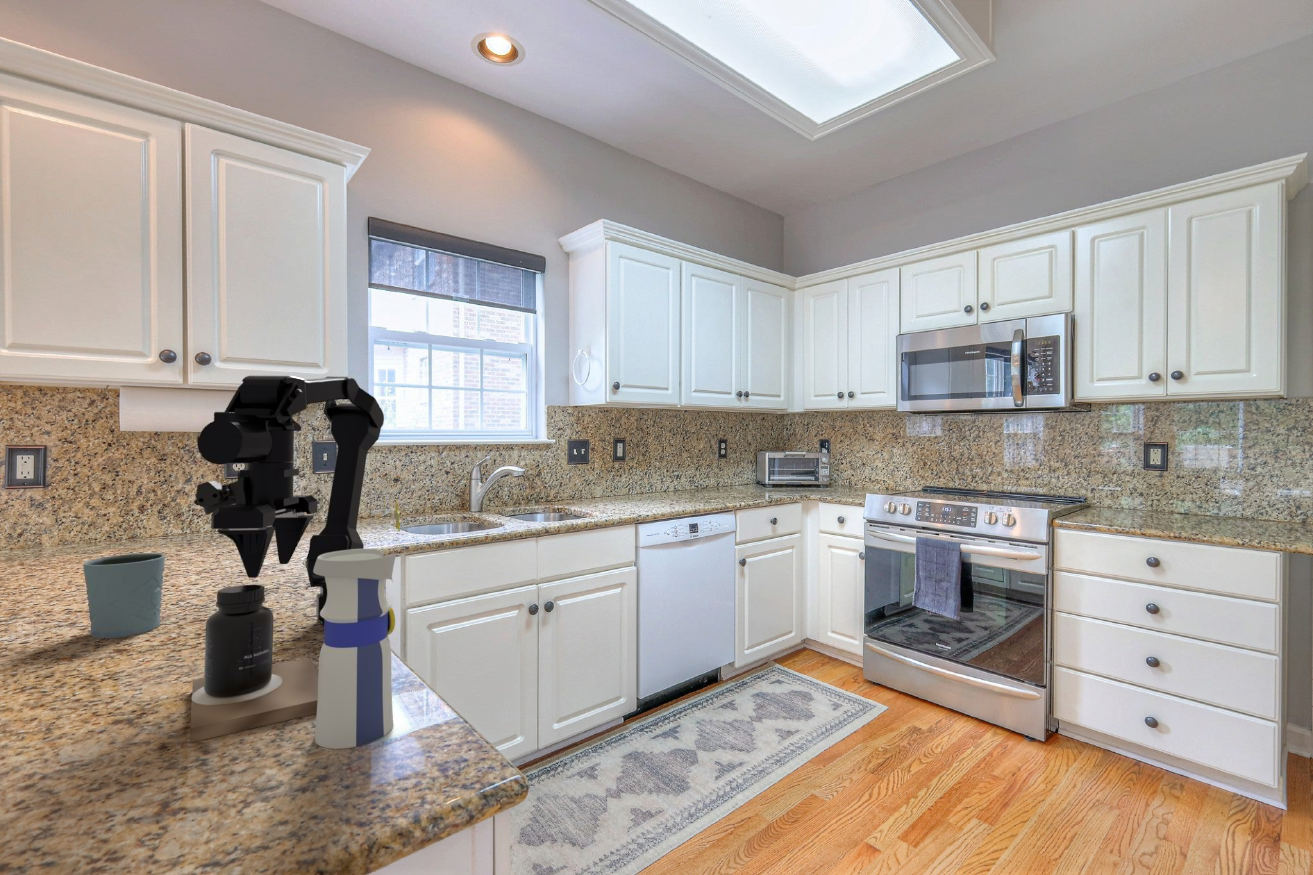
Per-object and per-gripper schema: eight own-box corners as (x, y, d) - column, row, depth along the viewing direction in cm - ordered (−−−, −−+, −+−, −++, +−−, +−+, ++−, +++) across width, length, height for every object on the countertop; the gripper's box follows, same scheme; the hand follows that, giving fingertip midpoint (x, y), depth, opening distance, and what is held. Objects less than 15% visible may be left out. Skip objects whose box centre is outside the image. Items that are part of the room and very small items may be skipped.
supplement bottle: (259, 696, 70) (260, 594, 70) (192, 701, 69) (193, 597, 69) (281, 674, 77) (282, 580, 77) (220, 678, 75) (221, 583, 75)
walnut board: (310, 668, 83) (310, 656, 83) (329, 710, 71) (329, 695, 71) (192, 691, 76) (192, 677, 76) (189, 742, 63) (190, 726, 63)
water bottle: (374, 706, 72) (376, 497, 72) (410, 727, 66) (413, 502, 67) (299, 731, 65) (301, 502, 66) (332, 757, 60) (335, 508, 60)
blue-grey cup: (174, 627, 101) (175, 556, 101) (96, 644, 92) (97, 567, 93) (149, 618, 106) (150, 550, 106) (72, 633, 98) (73, 560, 98)
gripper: (243, 460, 94) (242, 559, 94) (166, 464, 76) (164, 587, 76) (319, 460, 96) (318, 557, 96) (261, 464, 78) (260, 585, 78)
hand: (269, 570), depth 86 cm, fingers open, 9 cm apart
